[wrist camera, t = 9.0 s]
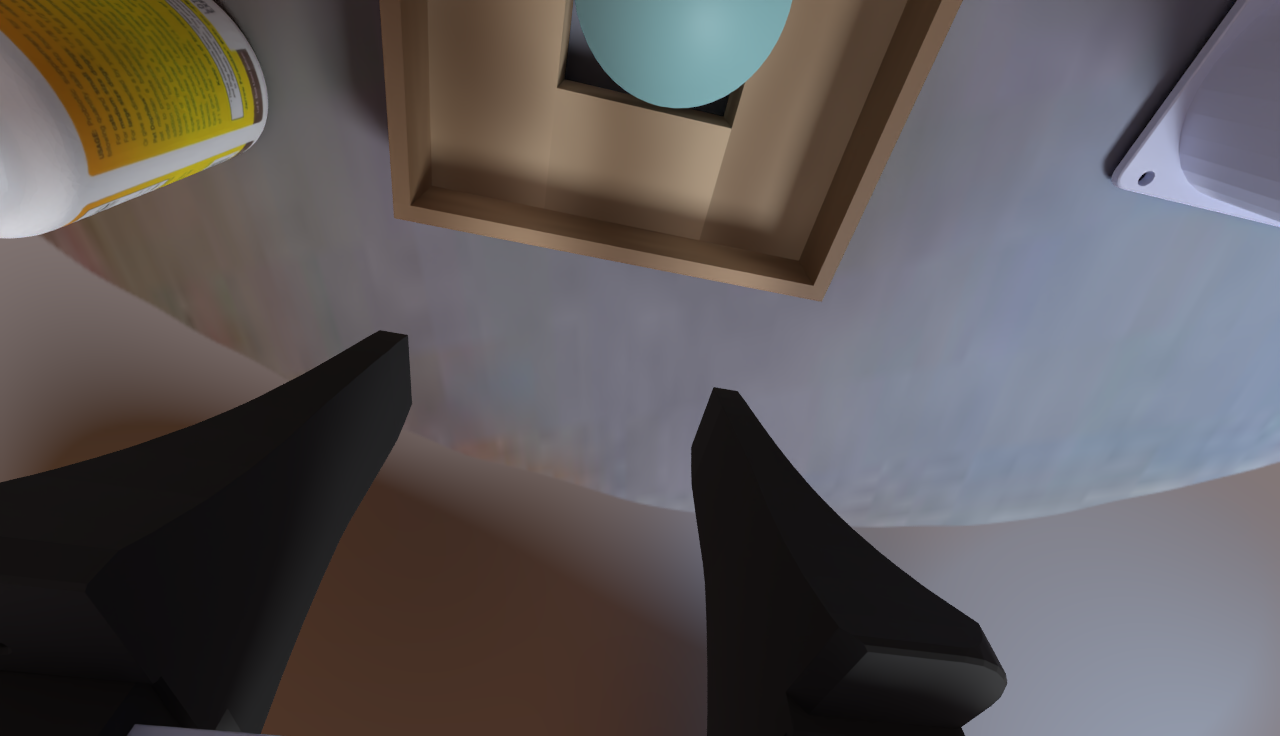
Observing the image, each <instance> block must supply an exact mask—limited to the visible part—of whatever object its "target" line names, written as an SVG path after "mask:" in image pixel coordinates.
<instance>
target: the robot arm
mask: <svg viewBox="0 0 1280 736" xmlns="http://www.w3.org/2000/svg"><path fill="white" fill-rule="evenodd" d="M1144 173H1146V175H1145V177H1144V178H1143V179H1142V180H1141V181H1139V182H1138V180H1139V178H1140V177H1141V176H1142V175H1143V174H1144ZM1111 181H1112V184H1113V185H1115V186H1116V187H1119V188H1121V189H1124V190H1128V191H1132V192H1136V193H1141V194H1145V195H1149V196H1153V197H1157V198H1161V199H1166V200H1170V201H1174V202H1178V203H1182V204H1186V205H1190V206H1195V207H1199V208H1203V209H1207V210H1211V211H1215V212H1220V213H1224V214H1228V215H1232V216H1236V217H1240V218H1244V219H1249V220H1253V221H1257V222H1261V223H1265V224H1269V225H1274V226H1278V227H1280V0H1237V1H1236V3H1235V4H1234V5H1233V7H1232V8H1231V10H1230V11H1229V12H1228V14H1227V15H1226V17H1225V18H1224V19H1223V21H1222V22H1221V23H1220V25H1219V26H1218V28H1217V29H1216V30H1215V32H1214V33H1213V35H1212V36H1211V37H1210V39H1209V40H1208V41H1207V43H1206V44H1205V46H1204V47H1203V48H1202V50H1201V51H1200V53H1199V54H1198V55H1197V57H1196V58H1195V60H1194V61H1193V62H1192V64H1191V65H1190V66H1189V68H1188V69H1187V71H1186V72H1185V73H1184V75H1183V76H1182V78H1181V79H1180V80H1179V82H1178V83H1177V84H1176V86H1175V87H1174V89H1173V90H1172V91H1171V93H1170V94H1169V96H1168V97H1167V98H1166V100H1165V101H1164V103H1163V104H1162V105H1161V107H1160V108H1159V109H1158V111H1157V112H1156V114H1155V115H1154V116H1153V118H1152V119H1151V121H1150V122H1149V123H1148V125H1147V126H1146V127H1145V129H1144V130H1143V132H1142V133H1141V134H1140V136H1139V137H1138V139H1137V140H1136V141H1135V143H1134V144H1133V145H1132V147H1131V148H1130V150H1129V151H1128V152H1127V154H1126V155H1125V157H1124V158H1123V159H1122V161H1121V162H1120V164H1119V165H1118V166H1117V168H1116V169H1115V171H1114V173H1113V174H1112V179H1111ZM411 405H412V396H411V380H410V363H409V347H408V335H404V334H399V333H393V332H387V331H381V330H380V331H378V332H376V333H374V334H372V335H370V336H369V337H367V338H365V339H363V340H362V341H360V342H358V343H357V344H355V345H353V346H352V347H350V348H348V349H346V350H345V351H343V352H341V353H340V354H338V355H336V356H334V357H333V358H331V359H329V360H327V361H326V362H324V363H322V364H320V365H319V366H317V367H315V368H313V369H312V370H310V371H308V372H306V373H304V374H303V375H301V376H299V377H297V378H295V379H293V380H291V381H289V382H287V383H285V384H283V385H281V386H279V387H277V388H275V389H273V390H271V391H269V392H268V393H266V394H264V395H262V396H260V397H258V398H255V399H253V400H251V401H249V402H247V403H245V404H243V405H240V406H238V407H236V408H234V409H231V410H229V411H227V412H224V413H222V414H220V415H217V416H215V417H212V418H210V419H207V420H205V421H202V422H200V423H198V424H195V425H192V426H189V427H187V428H184V429H181V430H178V431H175V432H172V433H169V434H167V435H164V436H161V437H158V438H155V439H152V440H150V441H147V442H144V443H141V444H139V445H136V446H132V447H129V448H126V449H123V450H120V451H117V452H113V453H110V454H106V455H103V456H100V457H97V458H93V459H90V460H86V461H82V462H79V463H75V464H72V465H68V466H65V467H61V468H58V469H54V470H50V471H46V472H42V473H38V474H34V475H30V476H26V477H22V478H17V479H13V480H9V481H5V482H1V483H0V736H278V735H266V734H261V731H262V728H263V726H264V723H265V720H266V718H267V715H268V712H269V709H270V707H271V704H272V702H273V699H274V696H275V693H276V691H277V688H278V685H279V682H280V680H281V677H282V675H283V672H284V670H285V667H286V665H287V662H288V660H289V657H290V655H291V652H292V650H293V647H294V645H295V642H296V640H297V637H298V635H299V632H300V629H301V627H302V624H303V622H304V620H305V617H306V615H307V613H308V610H309V608H310V606H311V603H312V601H313V599H314V596H315V594H316V591H317V589H318V587H319V585H320V582H321V580H322V578H323V576H324V573H325V571H326V569H327V567H328V565H329V562H330V560H331V558H332V555H333V554H334V551H335V549H336V547H337V544H338V543H339V540H340V538H341V536H342V535H343V533H344V531H345V529H346V527H347V525H348V523H349V521H350V520H351V518H352V516H353V514H354V513H355V511H356V510H357V508H358V506H359V504H360V503H361V501H362V499H363V497H364V496H365V494H366V492H367V491H368V489H369V488H370V486H371V484H372V482H373V480H374V479H375V477H376V476H377V474H378V472H379V471H380V469H381V467H382V465H383V464H384V462H385V460H386V459H387V457H388V455H389V453H390V452H391V450H392V448H393V446H394V445H395V442H396V441H397V439H398V437H399V434H400V432H401V430H402V427H403V425H404V422H405V420H406V417H407V415H408V412H409V410H410V407H411ZM691 476H692V490H693V498H694V505H695V512H696V519H697V526H698V533H699V540H700V547H701V553H702V560H703V568H704V578H705V591H706V592H705V595H706V620H707V660H708V661H707V667H708V716H707V736H965V735H964V732H963V730H962V728H961V727H962V726H963V725H965V724H966V723H967V722H969V721H970V720H972V719H973V718H975V717H976V716H977V715H979V714H980V713H982V712H983V711H985V710H986V709H987V708H989V707H990V706H991V705H992V704H994V703H995V702H996V701H997V700H998V699H999V698H1000V697H1001V695H1002V693H1003V691H1004V689H1005V687H1006V685H1007V679H1006V673H1005V672H1004V670H1003V668H1002V666H1001V664H1000V662H999V660H998V659H997V657H996V655H995V653H994V651H993V649H992V647H991V645H990V644H989V642H988V640H987V638H986V636H985V634H984V632H983V631H982V629H981V627H980V625H979V624H978V623H977V622H976V621H974V620H973V619H971V618H970V617H968V616H967V615H965V614H964V613H962V612H961V611H959V610H958V609H956V608H955V607H953V606H952V605H950V604H949V603H947V602H946V601H944V600H943V599H941V598H940V597H938V596H937V595H935V594H934V593H932V592H931V591H930V590H928V589H927V588H925V587H924V586H923V585H921V584H920V583H919V582H917V581H916V580H915V579H913V578H912V577H911V576H909V575H908V574H907V573H905V572H904V571H903V570H901V569H900V568H899V567H897V566H896V565H895V564H894V563H892V562H891V561H890V560H889V559H887V558H886V557H885V556H884V555H882V554H881V553H880V552H879V551H878V550H876V549H875V548H874V547H873V546H872V545H871V544H869V543H868V542H867V541H866V540H865V539H864V538H863V537H861V536H860V535H859V534H858V533H857V532H856V531H855V530H853V529H852V528H851V527H850V526H849V525H848V524H847V523H846V522H845V521H844V520H843V519H842V518H841V517H840V516H839V515H838V514H837V513H836V512H835V511H834V510H833V509H832V508H831V507H830V506H829V505H828V504H827V503H826V502H825V501H824V500H823V499H822V498H821V497H820V496H819V495H818V494H817V493H816V492H815V491H814V490H813V489H812V487H811V486H810V485H809V484H808V483H807V482H806V481H805V479H804V478H803V477H802V476H801V475H800V474H799V472H798V471H797V470H796V469H795V468H794V467H793V465H792V464H791V463H790V462H789V460H788V459H787V458H786V457H785V455H784V454H783V453H782V451H781V450H780V449H779V448H778V446H777V445H776V444H775V442H774V441H773V440H772V438H771V437H770V436H769V434H768V433H767V431H766V430H765V429H764V427H763V426H762V425H761V423H760V422H759V420H758V419H757V418H756V416H755V415H754V413H753V412H752V410H751V409H750V408H749V406H748V405H747V403H746V402H745V400H744V399H743V398H742V396H741V395H740V394H739V392H738V391H733V390H727V389H721V388H715V387H714V388H713V390H712V393H711V396H710V398H709V401H708V404H707V406H706V409H705V412H704V414H703V417H702V420H701V422H700V425H699V428H698V431H697V433H696V436H695V439H694V441H693V444H692V447H691Z"/></svg>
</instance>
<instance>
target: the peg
mask: <svg viewBox="0 0 1280 736" xmlns="http://www.w3.org/2000/svg"><path fill="white" fill-rule="evenodd" d="M575 4H576V10H577V15H578V18H579V22H580V25H581V29H582V31H583V34H584V36H585V39H586V41H587V44H588V46H589V47H590V49H591V51H592V53H593V55H594V57H595V58H596V60H597V61H598V63H599V64H600V65H601V67H602V68H603V70H604V71H605V72H606V73H607V74H608V75H609V76H610V77H611V78H612V80H613V81H614V82H616V83H617V84H618V85H619V86H620V87H622V88H623V89H624V90H625V91H627V92H628V93H630V94H632V95H633V96H635V97H636V98H639V99H641V100H643V101H645V102H648V103H651V104H654V105H657V106H661V107H668V108H690V107H697V106H701V105H705V104H708V103H711V102H714V101H716V100H718V99H720V98H723V97H725V96H726V95H728V94H730V93H731V92H733V91H734V90H736V89H737V88H739V87H740V86H741V85H742V84H744V83H745V82H746V81H747V80H748V79H749V78H750V77H751V76H752V75H753V74H754V73H755V72H756V71H757V70H758V69H759V68H760V67H761V65H762V64H763V63H764V61H765V60H766V59H767V57H768V56H769V54H770V53H771V51H772V50H773V48H774V46H775V45H776V43H777V41H778V39H779V37H780V35H781V33H782V30H783V28H784V26H785V23H786V20H787V17H788V14H789V12H790V8H791V4H792V0H575Z"/></svg>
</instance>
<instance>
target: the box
mask: <svg viewBox="0 0 1280 736" xmlns="http://www.w3.org/2000/svg"><path fill="white" fill-rule="evenodd" d="M962 1H963V0H792V4H791V8H790V12H789V14H788V17H787V20H786V23H785V26H784V28H783V30H782V33H781V35H780V37H779V39H778V41H777V43H776V45H775V46H774V48H773V50H772V51H771V53H770V54H769V56H768V57H767V59H766V60H765V61H764V63H763V64H762V65H761V67H760V68H759V69H758V70H757V71H756V72H755V73H754V74H753V75H752V76H751V77H750V78H749V79H748V80H747V81H746V82H745V83H744V84H742V85H741V86H740V87H739V88H737V89H736V90H734V91H733V92H731V93H730V95H729V98H728V102H727V106H726V109H725V113H724V116H719V115H715V114H711V113H707V112H702V111H698V110H694V109H690V108H668V107H661V106H657V105H654V104H651V103H648V102H645V101H643V100H641V99H639V98H636V97H635V96H633V95H630V94H626V93H622V92H617V91H613V90H609V89H605V88H600V87H596V86H592V85H588V84H583V83H579V82H575V81H571V80H566V79H565V72H566V63H567V54H568V45H569V36H570V26H571V17H572V8H573V0H379V2H380V17H381V32H382V46H383V61H384V76H385V90H386V105H387V120H388V134H389V149H390V164H391V178H392V193H393V208H394V218H397V219H402V220H407V221H412V222H417V223H422V224H427V225H432V226H437V227H443V228H448V229H453V230H458V231H463V232H468V233H473V234H478V235H483V236H489V237H494V238H499V239H504V240H509V241H514V242H519V243H524V244H529V245H535V246H540V247H545V248H550V249H555V250H560V251H565V252H570V253H575V254H581V255H586V256H591V257H596V258H601V259H606V260H611V261H616V262H621V263H627V264H632V265H637V266H642V267H647V268H652V269H657V270H662V271H667V272H672V273H678V274H683V275H688V276H693V277H698V278H703V279H708V280H713V281H718V282H724V283H729V284H734V285H739V286H744V287H749V288H754V289H759V290H764V291H770V292H775V293H780V294H785V295H790V296H795V297H800V298H805V299H810V300H816V301H821V302H822V300H823V298H824V295H825V293H826V291H827V289H828V287H829V285H830V283H831V280H832V278H833V276H834V274H835V272H836V270H837V268H838V266H839V263H840V261H841V259H842V257H843V255H844V253H845V251H846V248H847V246H848V244H849V242H850V240H851V238H852V236H853V234H854V231H855V229H856V227H857V225H858V223H859V221H860V219H861V216H862V214H863V212H864V210H865V208H866V206H867V204H868V202H869V199H870V197H871V195H872V193H873V191H874V189H875V187H876V184H877V182H878V180H879V178H880V176H881V174H882V172H883V170H884V167H885V165H886V163H887V161H888V159H889V157H890V155H891V152H892V150H893V148H894V146H895V144H896V142H897V140H898V138H899V135H900V133H901V131H902V129H903V127H904V125H905V123H906V120H907V118H908V116H909V114H910V112H911V110H912V108H913V106H914V103H915V101H916V99H917V97H918V95H919V93H920V91H921V88H922V86H923V84H924V82H925V80H926V78H927V76H928V74H929V71H930V69H931V67H932V65H933V63H934V61H935V59H936V56H937V54H938V52H939V50H940V48H941V46H942V44H943V42H944V39H945V37H946V35H947V33H948V31H949V29H950V27H951V24H952V22H953V20H954V18H955V16H956V14H957V12H958V9H959V7H960V5H961V3H962Z"/></svg>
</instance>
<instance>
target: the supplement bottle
mask: <svg viewBox="0 0 1280 736" xmlns="http://www.w3.org/2000/svg"><path fill="white" fill-rule="evenodd" d="M267 114H268V94H267V87H266V83H265V79H264V75H263V72H262V69H261V66H260V64H259V62H258V59H257V57H256V55H255V53H254V51H253V49H252V48H251V46H250V44H249V42H248V41H247V39H246V38H245V36H244V35H243V33H242V32H241V31H240V29H239V28H238V27H237V25H236V24H235V23H234V22H233V21H232V19H231V18H230V17H229V16H228V15H227V14H226V13H225V12H224V11H223V10H222V9H221V8H220V7H219V6H218V5H217V4H216V3H215V2H214V1H213V0H0V238H22V237H30V236H35V235H40V234H43V233H46V232H49V231H52V230H55V229H58V228H61V227H63V226H66V225H68V224H71V223H73V222H76V221H78V220H81V219H83V218H86V217H88V216H91V215H93V214H96V213H98V212H101V211H103V210H105V209H108V208H110V207H113V206H115V205H118V204H120V203H123V202H125V201H128V200H130V199H133V198H135V197H138V196H140V195H143V194H145V193H148V192H150V191H153V190H155V189H158V188H160V187H163V186H165V185H168V184H170V183H172V182H175V181H178V180H180V179H183V178H185V177H188V176H190V175H193V174H195V173H197V172H200V171H202V170H204V169H207V168H210V167H212V166H214V165H216V164H219V163H221V162H224V161H226V160H229V159H231V158H233V157H235V156H237V155H239V154H241V153H243V152H245V151H246V150H247V149H249V148H250V147H251V146H252V145H253V144H254V143H255V142H256V141H257V139H258V138H259V137H260V135H261V133H262V131H263V129H264V126H265V123H266V119H267Z"/></svg>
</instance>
